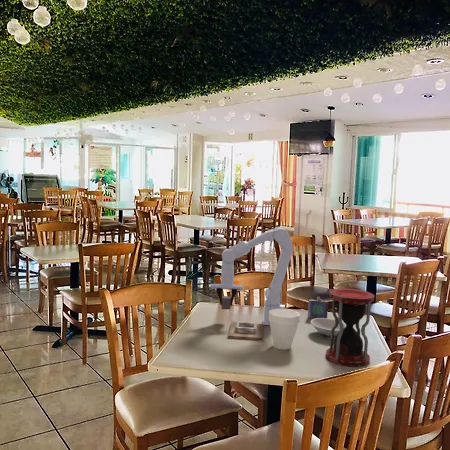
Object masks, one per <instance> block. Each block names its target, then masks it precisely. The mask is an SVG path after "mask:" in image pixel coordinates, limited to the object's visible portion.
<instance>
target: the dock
mask: <svg viewBox="0 0 450 450" xmlns="http://www.w3.org/2000/svg"><path fill="white" fill-rule="evenodd" d="M263 328H264V325H263V323H257V322H249V321H231V323H230V327H229V332H228V335H227V336H228V339H236V340H237V339H238V340H249V341H250V340H251V341H252V340H253V341H263V336H264V335H263V334H264V331H263Z"/></svg>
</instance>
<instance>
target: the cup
mask: <svg viewBox="0 0 450 450" xmlns="http://www.w3.org/2000/svg"><path fill="white" fill-rule="evenodd" d="M300 316H301V315H300V312H298V311H296V310H294V309H293V310H292V309H289V308H285V309H273V310H270V311H269V318H268V320H269V322H270V325H269V326H270V332H271V338H272V343H273V347H274V348H275V349H278V350H282V351H283V350H285V351H286V350H290V349H291V348H292V345H293V343H294V339H295V336H296V332H297V329H298V327H299V323H300V321H301V319H300Z"/></svg>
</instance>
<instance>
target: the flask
mask: <svg viewBox="0 0 450 450" xmlns="http://www.w3.org/2000/svg"><path fill="white" fill-rule="evenodd" d="M307 304H308V307H307V319H309V320H310V319H311V320H312V319H315V318H327V319H328V309H329V301H328V300H325V299H321V297H320V296H317V297H316V299H309V300H308V303H307Z"/></svg>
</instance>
